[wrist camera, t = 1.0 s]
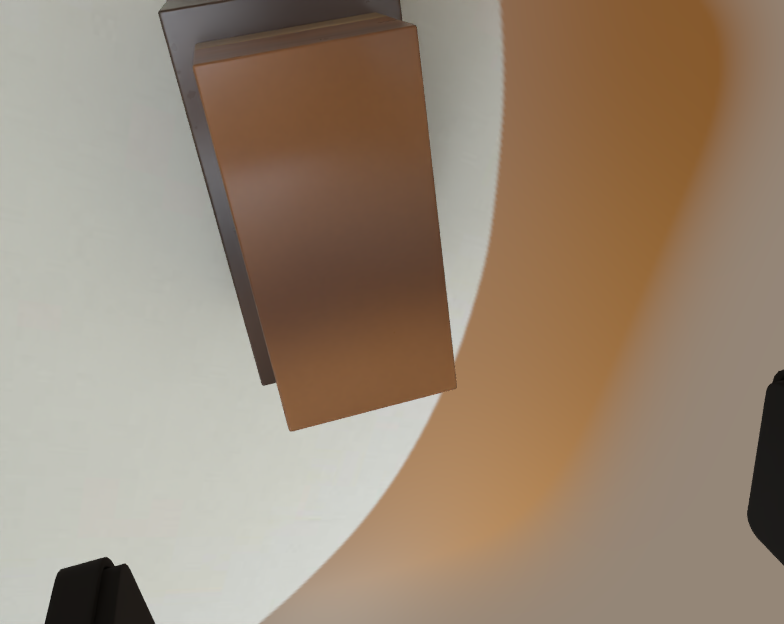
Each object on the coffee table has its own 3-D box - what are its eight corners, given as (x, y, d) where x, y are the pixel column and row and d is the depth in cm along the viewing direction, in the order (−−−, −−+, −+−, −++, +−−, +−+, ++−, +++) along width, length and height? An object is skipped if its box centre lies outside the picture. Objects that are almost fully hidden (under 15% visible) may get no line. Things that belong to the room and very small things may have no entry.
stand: (168, -3, 25) (157, 11, 19) (352, -33, 26) (397, -30, 20) (251, 304, 32) (262, 386, 26) (397, 270, 33) (441, 342, 27)
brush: (194, 43, 20) (191, 64, 16) (377, 11, 21) (417, 24, 17) (276, 359, 25) (289, 432, 21) (420, 324, 26) (457, 389, 22)
